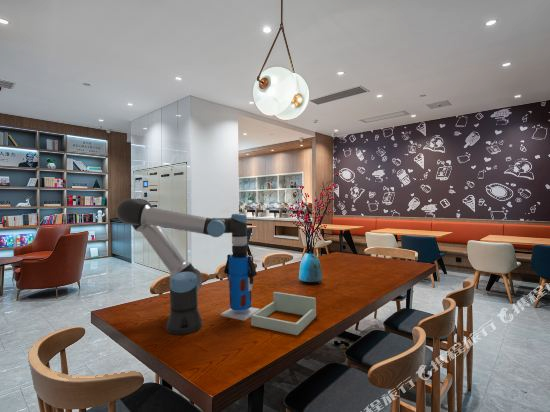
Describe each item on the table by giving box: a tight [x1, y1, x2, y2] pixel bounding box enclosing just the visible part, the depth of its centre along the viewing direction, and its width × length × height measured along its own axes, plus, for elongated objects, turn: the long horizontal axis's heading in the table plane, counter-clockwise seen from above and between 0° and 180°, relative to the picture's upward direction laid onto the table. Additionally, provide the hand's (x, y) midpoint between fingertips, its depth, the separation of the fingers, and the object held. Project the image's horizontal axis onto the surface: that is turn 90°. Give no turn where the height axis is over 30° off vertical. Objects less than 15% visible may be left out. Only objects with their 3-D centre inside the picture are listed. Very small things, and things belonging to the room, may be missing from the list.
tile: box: [220, 306, 261, 321], centre depth 148 cm, size 14×14×1 cm
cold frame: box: [250, 291, 317, 336], centre depth 138 cm, size 22×22×9 cm
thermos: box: [228, 254, 253, 310], centre depth 148 cm, size 11×11×25 cm
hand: (240, 288), depth 148 cm, fingers closed on thermos, 11 cm apart
